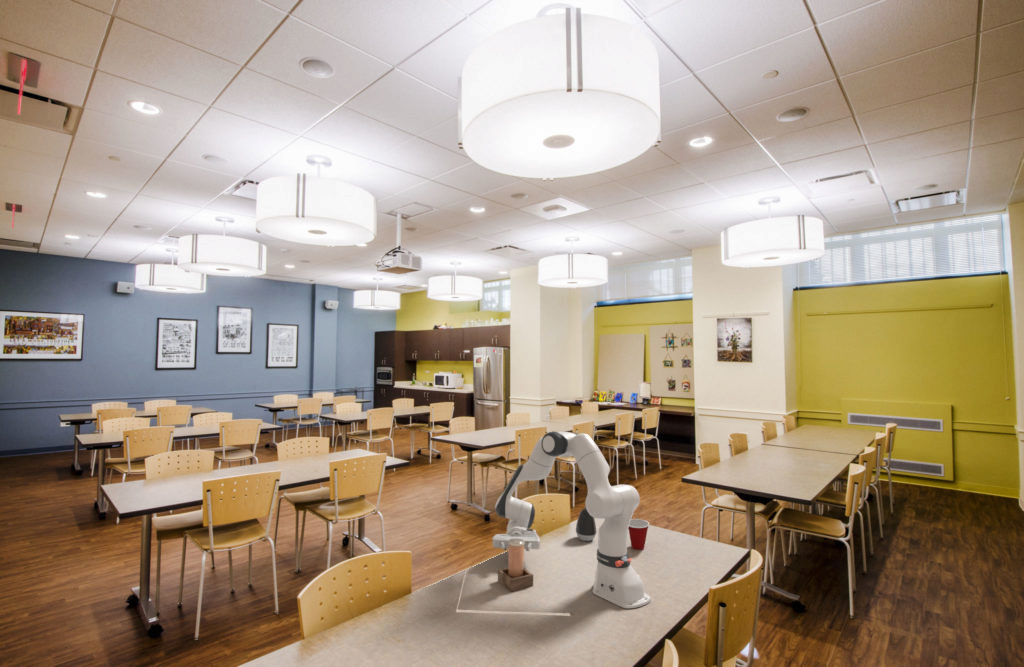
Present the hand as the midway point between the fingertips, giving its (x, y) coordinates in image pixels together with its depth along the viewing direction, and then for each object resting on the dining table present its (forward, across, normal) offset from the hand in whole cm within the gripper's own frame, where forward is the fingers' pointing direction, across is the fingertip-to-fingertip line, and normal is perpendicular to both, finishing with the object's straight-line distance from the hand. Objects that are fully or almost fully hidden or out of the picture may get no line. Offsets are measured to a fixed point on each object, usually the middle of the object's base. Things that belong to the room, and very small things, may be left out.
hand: (516, 548), depth 196 cm
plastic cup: (-32, +58, +10) cm, 67 cm away
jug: (+12, 0, +9) cm, 15 cm away
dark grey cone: (-41, +35, +10) cm, 55 cm away
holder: (+10, 0, +10) cm, 14 cm away
